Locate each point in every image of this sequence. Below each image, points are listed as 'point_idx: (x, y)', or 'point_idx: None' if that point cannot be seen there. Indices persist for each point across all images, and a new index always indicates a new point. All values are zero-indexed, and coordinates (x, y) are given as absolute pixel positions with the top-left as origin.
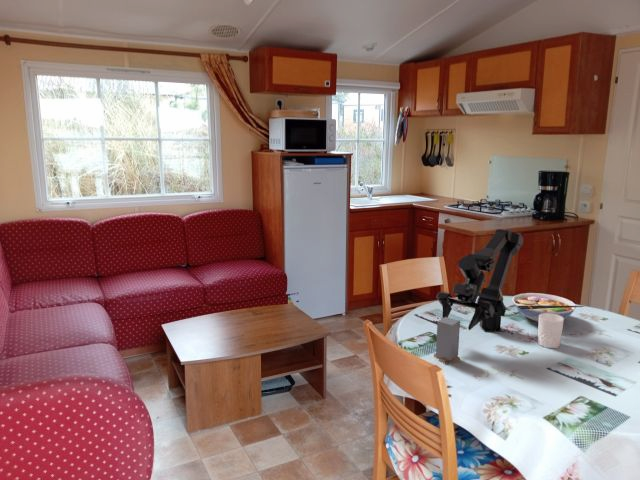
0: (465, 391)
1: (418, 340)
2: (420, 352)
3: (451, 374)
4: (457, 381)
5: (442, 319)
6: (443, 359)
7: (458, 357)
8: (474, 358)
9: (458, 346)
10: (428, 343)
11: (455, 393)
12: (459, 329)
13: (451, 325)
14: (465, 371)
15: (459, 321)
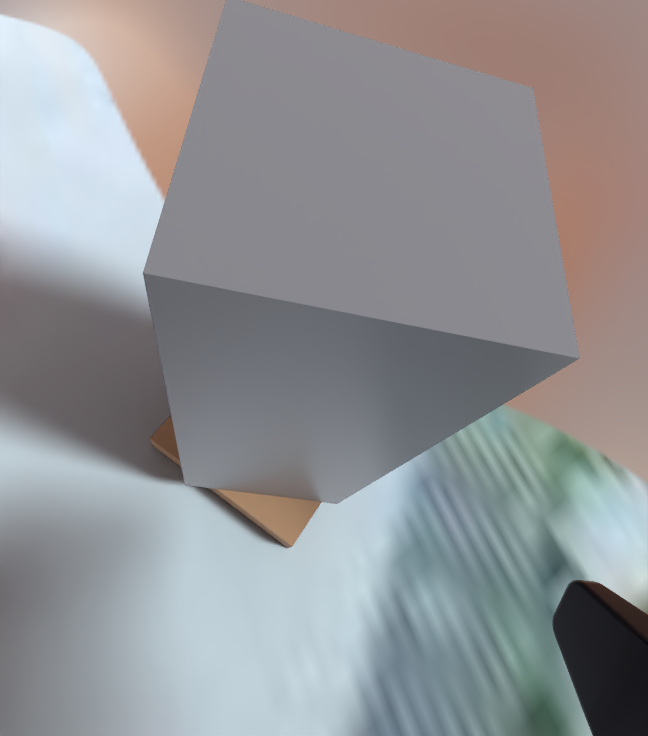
0: (21, 71)
1: None
2: (480, 431)
3: (156, 217)
4: (94, 152)
5: (523, 189)
6: None
7: (169, 441)
8: (25, 588)
9: (181, 460)
10: (538, 658)
11: (76, 45)
12: (165, 379)
13: (245, 11)
14: (68, 292)
15: (153, 258)
